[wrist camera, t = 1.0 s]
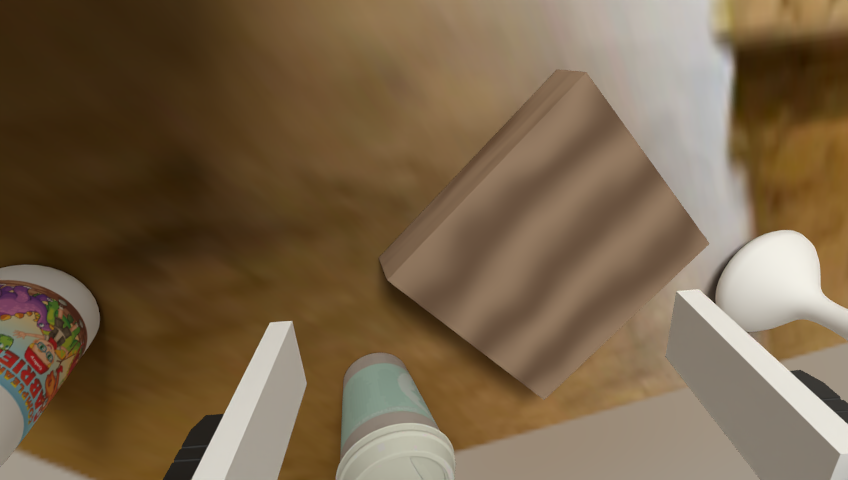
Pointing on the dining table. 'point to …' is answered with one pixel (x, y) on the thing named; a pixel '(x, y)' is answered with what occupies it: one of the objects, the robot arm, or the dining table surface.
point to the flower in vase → (777, 285)
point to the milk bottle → (38, 343)
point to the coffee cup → (389, 426)
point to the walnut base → (546, 237)
